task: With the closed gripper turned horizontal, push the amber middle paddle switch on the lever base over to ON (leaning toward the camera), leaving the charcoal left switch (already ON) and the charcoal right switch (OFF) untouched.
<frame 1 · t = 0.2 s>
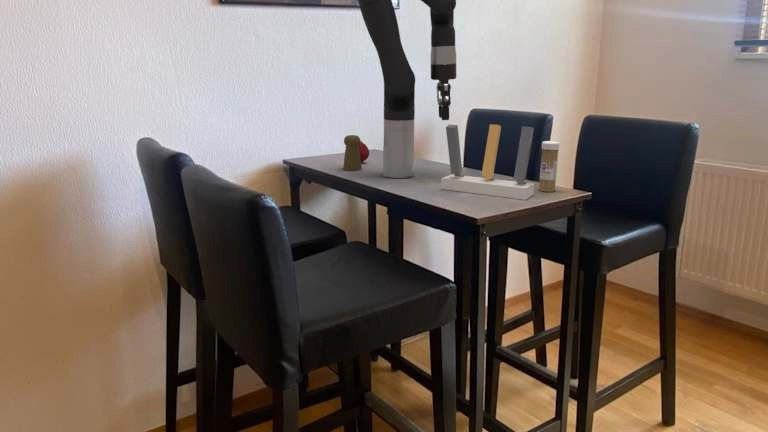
hand: (443, 118, 179), 17 cm above the table, tool pointing down, fingers open, 8 cm apart
lever right: (523, 155, 157), point 10 cm above the table, hinge at -18.0°
lever middle: (491, 152, 161), point 10 cm above the table, hinge at -18.0°
lever left: (454, 151, 163), point 10 cm above the table, hinge at 18.0°
cork: (352, 169, 194), on the table
sprinkles bottle: (546, 191, 164), on the table
red oval lump: (360, 163, 204), on the table
lever base: (486, 191, 162), on the table
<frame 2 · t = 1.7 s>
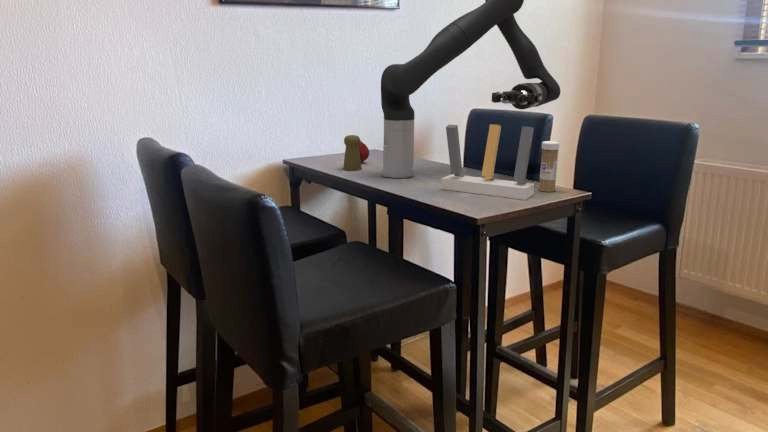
hand: (506, 99, 166), 24 cm above the table, tool horizontal, fingers open, 6 cm apart
nothing on the table moved.
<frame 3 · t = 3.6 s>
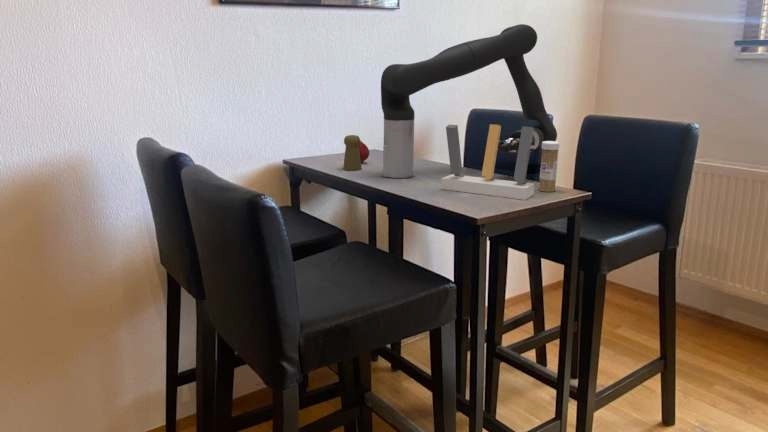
hand: (503, 149, 169), 10 cm above the table, tool horizontal, fingers closed
nothing on the table moved.
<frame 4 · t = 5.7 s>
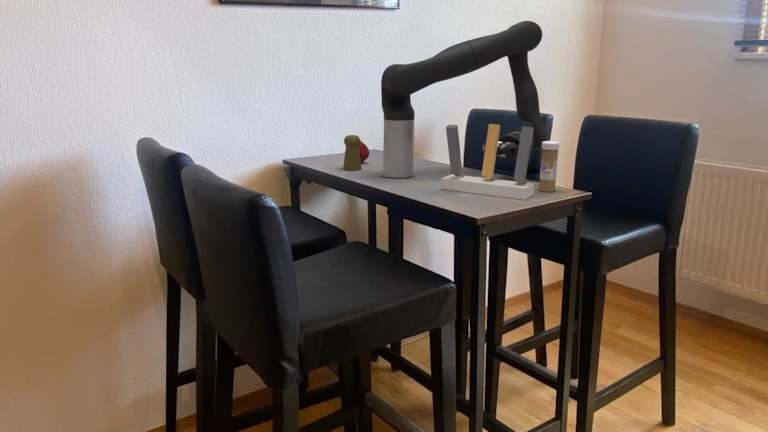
hand: (491, 153, 162), 10 cm above the table, tool horizontal, fingers closed
lever middle: (490, 152, 161), point 11 cm above the table, hinge at -14.7°, touching gripper
everything else where it was.
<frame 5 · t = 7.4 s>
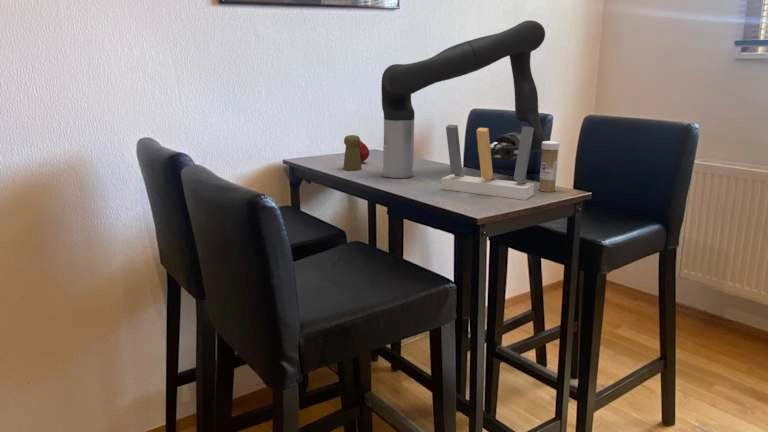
hand: (486, 153, 159), 11 cm above the table, tool horizontal, fingers closed
lever middle: (485, 155, 158), point 10 cm above the table, hinge at 20.5°, touching gripper
everything else where it was.
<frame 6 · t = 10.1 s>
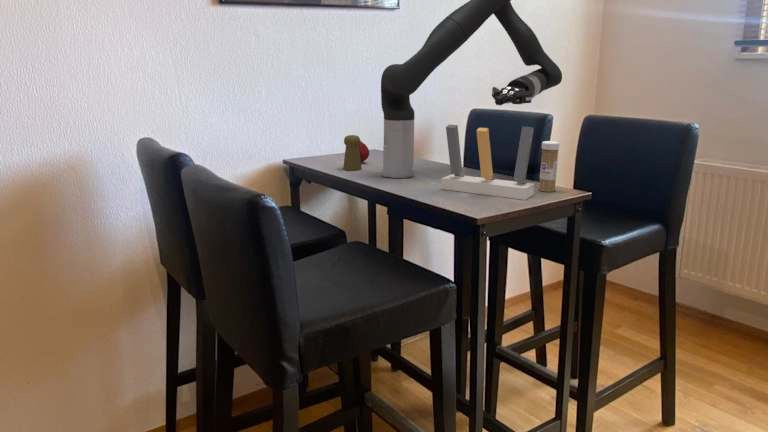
hand: (498, 101, 166), 23 cm above the table, tool horizontal, fingers closed
lever middle: (485, 155, 158), point 10 cm above the table, hinge at 20.6°
everything else where it was.
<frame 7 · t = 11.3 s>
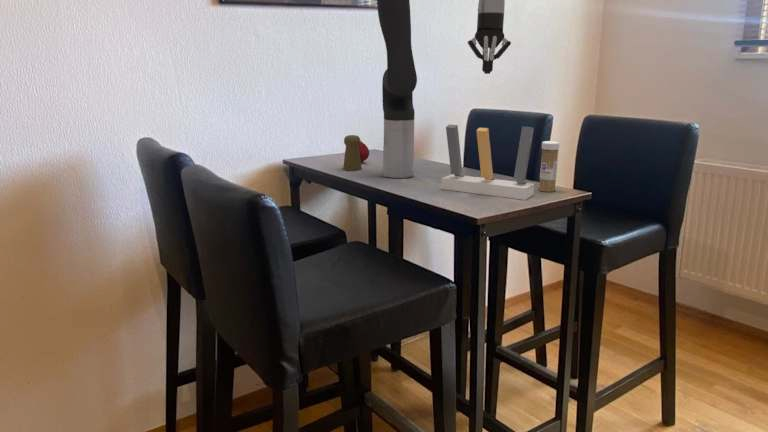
hand: (487, 73, 177), 31 cm above the table, tool pointing down, fingers closed
nothing on the table moved.
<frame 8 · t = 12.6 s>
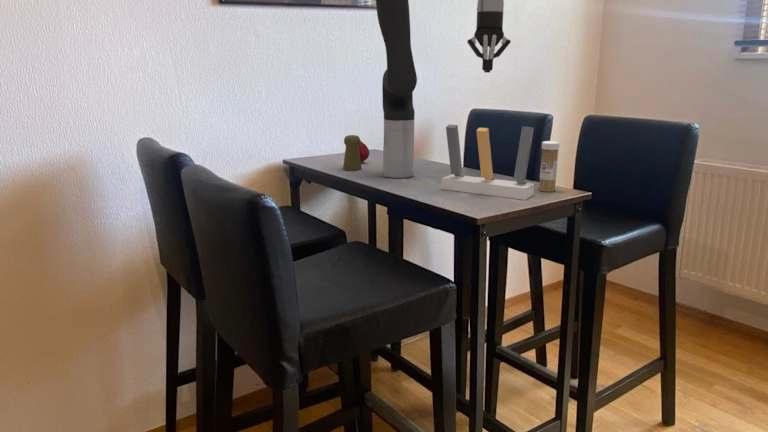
hand: (487, 72, 177), 31 cm above the table, tool pointing down, fingers closed
nothing on the table moved.
at the end: lever middle at +21° (first picture: -18°); lever left at +18° (first picture: +18°); lever right at -18° (first picture: -18°) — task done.
